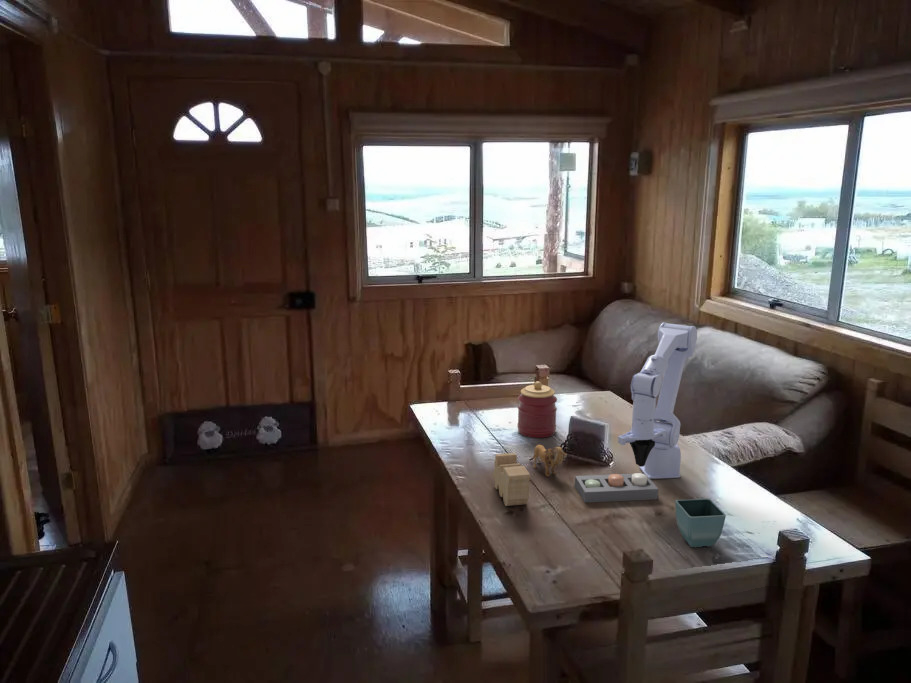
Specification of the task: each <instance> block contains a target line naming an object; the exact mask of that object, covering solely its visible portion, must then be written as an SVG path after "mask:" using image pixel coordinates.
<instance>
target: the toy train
mask: <svg viewBox="0 0 911 683" xmlns="http://www.w3.org/2000/svg"><path fill="white" fill-rule="evenodd" d="M517 462H518V456H517V454H516V452H508V453H496V454H495V460H494V466H493V467H494V469H493V471H492V477H493V479H494V487H495V490H498V493H499V496H500V498H502V499H503V504H504V506H506V507H510V506H511V507H512V506H521V505H527V504H528V502H529V501H528V500H529V497H530V495H529V494H530V481H531V474H530V472H529V471H528V470H527V469H528V468H526V467H525V465H522V464H521V463H517Z"/></svg>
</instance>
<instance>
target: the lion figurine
mask: <svg viewBox="0 0 911 683" xmlns="http://www.w3.org/2000/svg"><path fill="white" fill-rule="evenodd" d="M533 451H534V452H533V456H532V457H531V458H529V459H528V461H531V462H532V461H533V468H534V469H537V468H538V464H541V463H544V467H545V476H546V477H551V475H550V473H551V474H553V475H555V474H556V473H557V472H556V470H555V468H556V467H558V466H559V465H561V464H562V463H563V461H565V460H566V458H567V456H568V454H567V453H566V452H564V450H563V448H562V447H561V446H554V447H552V448H547V449H546V448H545V446H544V445H542V444H537V445H536V446H535V447H534V450H533ZM537 463H538V464H537Z"/></svg>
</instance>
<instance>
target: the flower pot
mask: <svg viewBox="0 0 911 683" xmlns="http://www.w3.org/2000/svg"><path fill="white" fill-rule="evenodd" d="M674 501H675V502H674V504H675V517H676V518H675V519H676V523H677V524H676V525H677V527H678V529H679V532H680V534H681V536H682V537H683V539H684V540H685V541H686V542H687V544H688V545H689V547H691V548H703V547H702V546H707V547H712V546H714V545H715V544H716V543H717V541H718V540H719V539H720V537H721V535H722V533H723V530H724V529H723V528H724V525H725V521H726V517H727V515H726V513H725V512H724V511H723V510H722V509H720V507H719V506H717V504H716V503H715V502H713V500H712V499H711V498H696V499H695V498H693V499H676V500H674Z"/></svg>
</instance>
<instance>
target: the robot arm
mask: <svg viewBox="0 0 911 683" xmlns="http://www.w3.org/2000/svg"><path fill="white" fill-rule="evenodd" d="M657 340H658V346H657V348H656V351H655V353H654V354H652V355H650V356H648V357H647V359H646V361H645V363H644V365H643V366H642V369H641V370H640V372H638V373H634V375H632V379H631V383H630V392H631V400H632V401H633V403H632V417H631V418H632V420H631V428H630V431H628V432H626V433H624V434H621V435H618V436H617V443H618V444H620V445H621V446H625V445H626V444H629V445H630V447H631V450H632V453H633V455H634V460H635V464H636V465H637V466H639V467H638V468H639V469H640V471H641V473H645V474H646V475H647V476H648V477H649V478H650V480H654V479H657V480H658V479H679V478H681V475H680V471H681V469H680V468H681V461H682V460H681V459H682V455H681V448H680V446H679V445H678V442H679V439H680V434H681V432H680V430H681V429H680V428H681V425H682V424H681V421H680V420H679V418H678V417H677V416H676V415H675V413H674V411H675V410H674V409H675V405H676V400H677V396H678V393H679V388H680V383H681V379H682V375H683V371H684V367H685V364H686V362H687V359H688V358H690V357H693V355H694V352H695V349H696V345H697V340H698V330H697V328H696V326H695V325H685V324H675V323H667V322H662V323H661V324H660V325H659V327H658V330H657ZM657 397H658V400H657ZM656 403H657V404H656Z"/></svg>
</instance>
